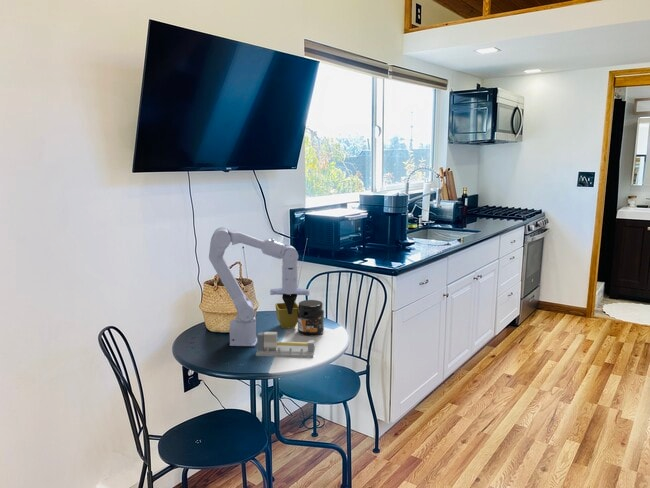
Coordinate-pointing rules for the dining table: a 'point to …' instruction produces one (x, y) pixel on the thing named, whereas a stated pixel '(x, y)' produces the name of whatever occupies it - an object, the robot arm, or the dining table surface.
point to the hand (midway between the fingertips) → (290, 313)
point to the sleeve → (270, 340)
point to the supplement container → (310, 317)
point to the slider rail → (286, 348)
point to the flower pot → (287, 315)
